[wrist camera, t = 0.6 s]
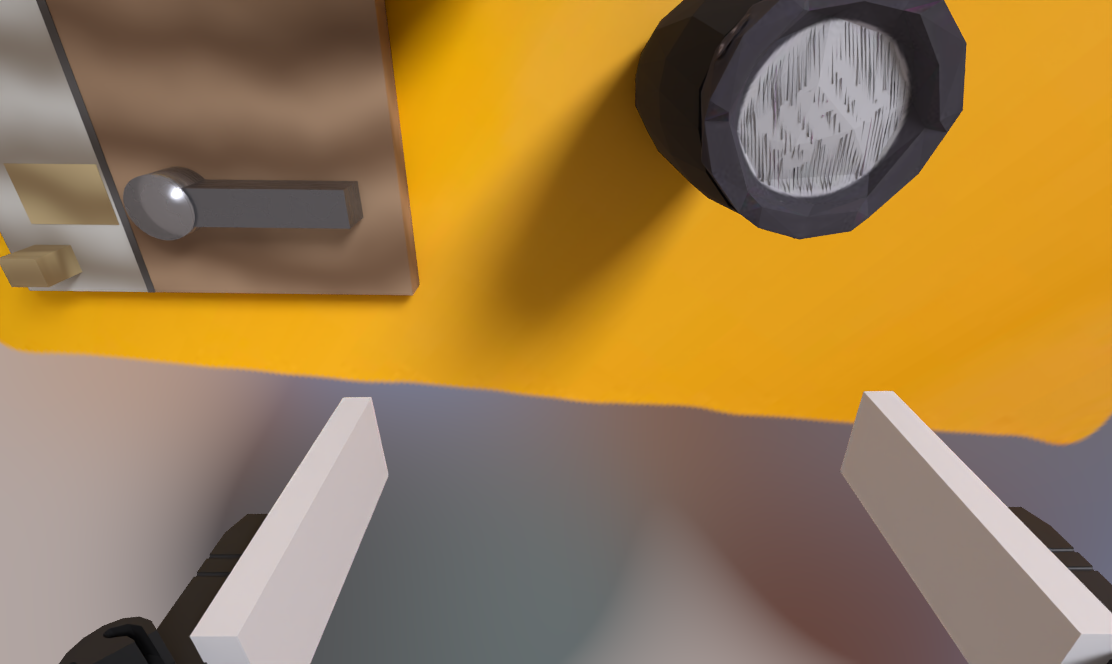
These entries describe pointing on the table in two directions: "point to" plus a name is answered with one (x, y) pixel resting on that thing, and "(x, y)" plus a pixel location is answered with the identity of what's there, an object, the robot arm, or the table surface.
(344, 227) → the door lever handle
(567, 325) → the table surface
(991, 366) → the table surface
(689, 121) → the portable speaker
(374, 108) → the board
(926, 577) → the robot arm
